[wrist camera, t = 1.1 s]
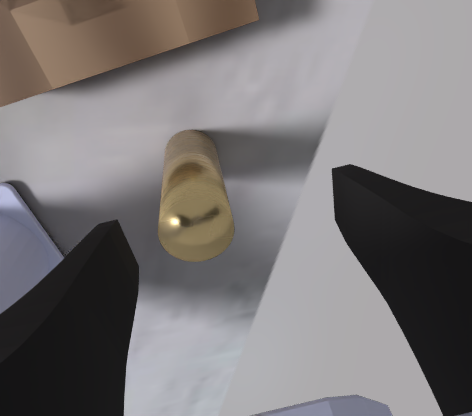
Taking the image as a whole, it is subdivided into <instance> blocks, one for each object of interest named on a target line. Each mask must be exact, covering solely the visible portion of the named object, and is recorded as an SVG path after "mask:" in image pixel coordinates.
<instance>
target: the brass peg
mask: <svg viewBox="0 0 472 416" xmlns="http://www.w3.org/2000/svg"><path fill="white" fill-rule="evenodd" d="M233 236H234V222H233V218H232V214H231V210H230V205H229V201H228V197H227V193H226V189H225V185H224V180H223V176H222V172H221V168H220V164H219V160H218V155H217V151H216V147H215V145H214V143H213V141H212V140H211V139H210V138H209V137H208V136H207V135H206V134H204V133H202V132H200V131H196V130H185V131H181V132H179V133H177V134H175V135H174V136H173V137H172V138H171V139H170V140H169V142H168V143H167V146H166V149H165V158H164V169H163V180H162V190H161V201H160V212H159V223H158V237H159V240H160V243H161V245H162V246H163V248H164V249H165V250H166V251H167V252H168V253H169V254H171V255H172V256H174V257H176V258H178V259H181V260H184V261H190V262H199V261H205V260H209V259H212V258H214V257H216V256H218V255H219V254H221V253H222V252H223V251H224V250H225V249H226V248H227V247H228V246H229V245H230V243H231V241H232V239H233Z"/></svg>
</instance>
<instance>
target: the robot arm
mask: <svg viewBox="0 0 472 416" xmlns="http://www.w3.org/2000/svg"><path fill="white" fill-rule="evenodd" d="M332 180H333V196H334V212H335V221H336V223H337V225H338V227H339V229H340V231H341V233H342V235H343V237H344V239H345V241H346V243H347V245H348V246H349V248H350V249H351V251H352V252H353V254H354V255H355V256H356V258H357V259H358V261H359V262H360V264H361V265H362V267H363V268H364V269H365V271H366V272H367V274H368V275H369V277H370V278H371V280H372V281H373V282H374V284H375V285H376V287H377V288H378V290H379V291H380V293H381V294H382V296H383V297H384V299H385V300H386V302H387V303H388V305H389V307H390V309H391V311H392V313H393V315H394V316H395V318H396V320H397V322H398V324H399V326H400V328H401V329H402V331H403V333H404V335H405V337H406V339H407V341H408V343H409V345H410V347H411V349H412V351H413V353H414V355H415V357H416V359H417V361H418V363H419V365H420V367H421V369H422V371H423V373H424V375H425V377H426V380H427V381H428V384H429V386H430V388H431V389H432V392H433V394H434V396H435V398H436V400H437V403H438V405H439V407H440V409H441V412H442V414H443V416H472V202H469V201H464V200H460V199H455V198H451V197H446V196H443V195H439V194H435V193H431V192H428V191H425V190H422V189H418V188H415V187H412V186H409V185H406V184H403V183H401V182H398V181H395V180H392V179H389V178H387V177H384V176H381V175H379V174H376V173H374V172H371V171H369V170H366V169H363V168H360V167H358V166H354V165H351V164H349V165H345V166H341V167H337V168H332ZM138 285H139V266H138V264H137V261H136V259H135V257H134V255H133V253H132V250H131V248H130V246H129V244H128V242H127V239H126V237H125V235H124V233H123V231H122V229H121V226H120V224H119V222H118V220H113V221H109V222H105V223H101V224H99V225H97V226H96V227H95V228H94V229H93V230H92V231H91V232H90V233H89V234H88V235H87V236H86V237H85V238H84V239H83V240H82V241H81V242H80V243H79V244H78V245H77V246H76V247H75V248H74V249H73V250H72V251H71V252H70V253H69V254H68V255H67V256H66V257H65V258H64V257H63V255H62V254H61V252H60V251H59V250H58V248H57V247H56V245H55V244H54V243H53V241H52V240H51V238H50V237H49V236H48V234H47V233H46V231H45V230H44V229H43V227H42V226H41V224H40V223H39V222H38V220H37V219H36V217H35V216H34V215H33V213H32V212H31V210H30V209H29V208H28V206H27V205H26V204H25V202H24V201H23V199H22V198H21V197H20V195H19V194H18V192H17V191H16V190H15V188H14V187H13V186H12V185H10V184H8V183H0V416H124V393H125V377H126V364H127V356H128V349H129V344H130V338H131V332H132V327H133V321H134V315H135V309H136V303H137V297H138ZM251 416H393V415H392V413H391V411H390V409H389V407H388V405H385V404H383V403H380V402H377V401H374V400H371V399H368V398H365V397H362V396H359V395H350V396H338V397H326V398H322V399H318V400H314V401H309V402H305V403H301V404H297V405H293V406H289V407H284V408H280V409H276V410H272V411H268V412H263V413H259V414H255V415H251Z"/></svg>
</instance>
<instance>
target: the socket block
mask: <svg viewBox="0 0 472 416" xmlns="http://www.w3.org/2000/svg"><path fill="white" fill-rule="evenodd" d="M257 20H259V17H258V12H257V8H256V3H255V0H0V107H2V106H5V105H8V104H11V103H14V102H17V101H20V100H23V99H26V98H29V97H32V96H35V95H38V94H41V93H44V92H47V91H50V90H53V89H56V88H59V87H61V86H64V85H67V84H70V83H73V82H76V81H79V80H82V79H85V78H88V77H91V76H94V75H97V74H100V73H103V72H106V71H109V70H112V69H115V68H118V67H121V66H124V65H127V64H130V63H133V62H136V61H139V60H142V59H145V58H148V57H151V56H154V55H156V54H159V53H162V52H165V51H168V50H171V49H174V48H177V47H180V46H183V45H186V44H189V43H192V42H195V41H198V40H201V39H204V38H207V37H210V36H213V35H216V34H219V33H222V32H225V31H228V30H231V29H234V28H237V27H240V26H243V25H246V24H249V23H251V22H254V21H257Z"/></svg>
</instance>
